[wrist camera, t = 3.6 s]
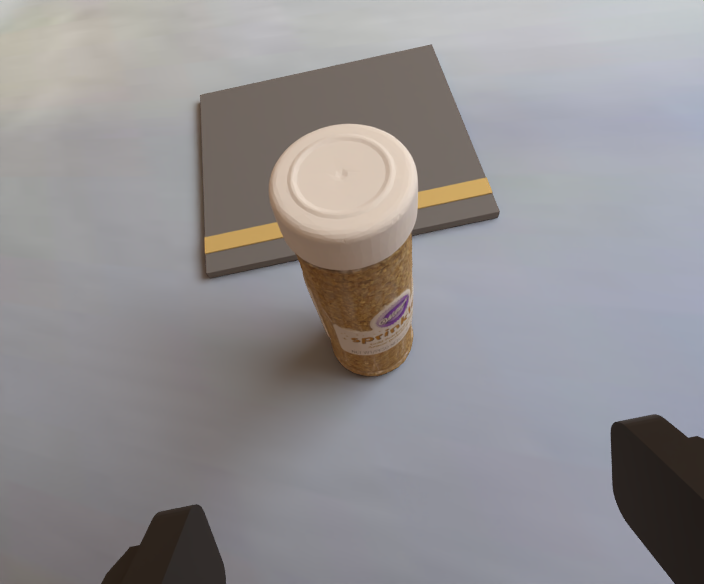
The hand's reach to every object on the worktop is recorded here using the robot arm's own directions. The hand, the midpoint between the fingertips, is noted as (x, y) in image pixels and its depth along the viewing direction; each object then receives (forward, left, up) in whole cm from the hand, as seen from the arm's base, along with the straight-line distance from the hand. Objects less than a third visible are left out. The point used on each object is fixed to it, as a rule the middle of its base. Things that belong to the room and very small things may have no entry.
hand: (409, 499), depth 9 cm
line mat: (0, +23, -14) cm, 27 cm away
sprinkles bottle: (0, +9, -14) cm, 17 cm away
